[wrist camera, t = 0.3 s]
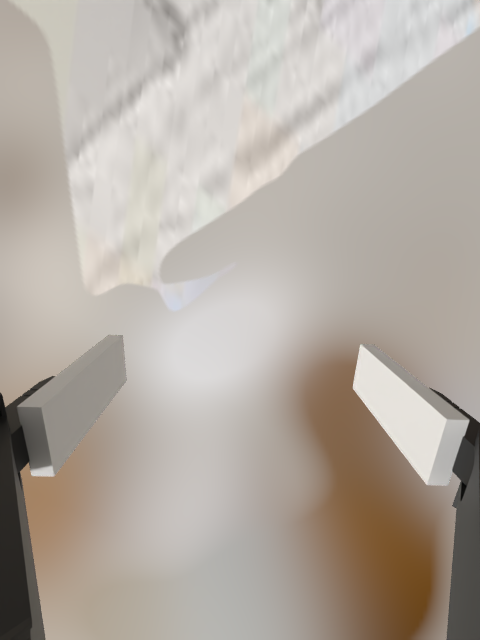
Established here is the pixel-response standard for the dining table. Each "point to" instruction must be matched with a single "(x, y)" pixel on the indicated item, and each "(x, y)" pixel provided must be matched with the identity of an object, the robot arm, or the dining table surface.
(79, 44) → the dining table surface
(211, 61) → the dining table surface
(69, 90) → the dining table surface
